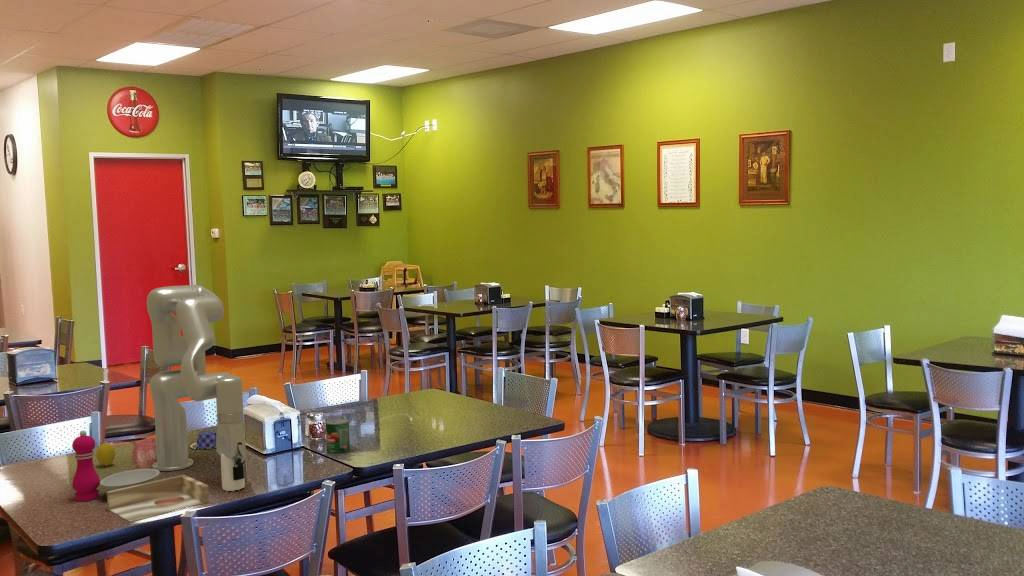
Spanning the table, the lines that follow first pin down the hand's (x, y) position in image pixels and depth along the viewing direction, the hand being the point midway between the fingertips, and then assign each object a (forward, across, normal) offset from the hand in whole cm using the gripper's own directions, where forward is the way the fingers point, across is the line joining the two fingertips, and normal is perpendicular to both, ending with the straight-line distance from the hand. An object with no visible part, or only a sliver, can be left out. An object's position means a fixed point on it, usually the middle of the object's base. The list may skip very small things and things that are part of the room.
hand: (233, 476), depth 258 cm
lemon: (+4, -55, -17) cm, 58 cm away
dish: (+4, -19, -23) cm, 30 cm away
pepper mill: (+4, -24, -33) cm, 41 cm away
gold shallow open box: (+4, -1, -22) cm, 22 cm away
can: (+4, 0, 0) cm, 4 cm away
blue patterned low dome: (+4, -55, +18) cm, 58 cm away
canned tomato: (+4, -11, +44) cm, 46 cm away
